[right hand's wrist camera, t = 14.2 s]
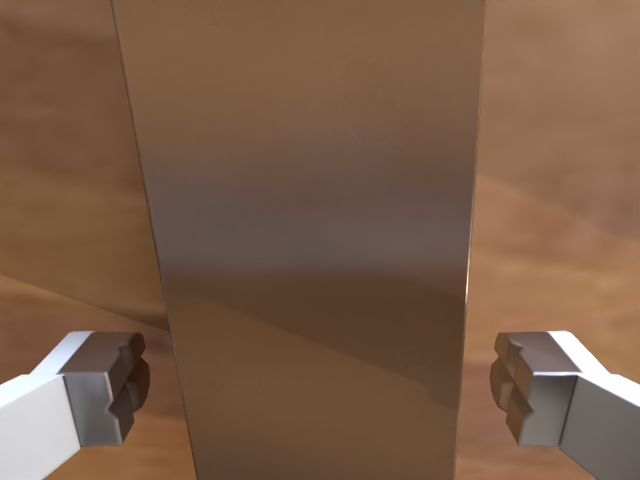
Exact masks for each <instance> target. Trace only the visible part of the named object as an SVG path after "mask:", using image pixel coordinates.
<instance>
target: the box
mask: <svg viewBox="0 0 640 480" xmlns="http://www.w3.org/2000/svg"><path fill="white" fill-rule="evenodd" d="M110 1H111V6H112V12H113V17H114V23H115V29H116V34H117V40H118V45H119V51H120V56H121V62H122V67H123V73H124V78H125V84H126V90H127V95H128V101H129V106H130V112H131V117H132V123H133V128H134V134H135V139H136V145H137V151H138V156H139V162H140V167H141V173H142V178H143V184H144V189H145V195H146V200H147V206H148V211H149V217H150V223H151V228H152V234H153V239H154V245H155V250H156V256H157V261H158V267H159V272H160V278H161V284H162V289H163V295H164V300H165V306H166V311H167V317H168V322H169V328H170V333H171V339H172V345H173V350H174V356H175V361H176V367H177V372H178V378H179V383H180V389H181V394H182V400H183V406H184V411H185V417H186V422H187V428H188V433H189V439H190V444H191V450H192V455H193V461H194V466H195V472H196V478H197V480H455V468H456V454H457V440H458V426H459V411H460V397H461V383H462V368H463V354H464V340H465V325H466V311H467V297H468V283H469V268H470V254H471V240H472V225H473V211H474V197H475V183H476V168H477V154H478V140H479V125H480V111H481V97H482V82H483V68H484V54H485V40H486V25H487V11H488V0H110Z"/></svg>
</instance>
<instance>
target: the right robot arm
mask: <svg viewBox="0 0 640 480" xmlns="http://www.w3.org/2000/svg"><path fill="white" fill-rule="evenodd" d="M145 349H146V347H145V343H144V338H143V335H142V334H141V333H140V332H111V331H96V332H95V331H74V332H70V333H69V334H68V335H67V336H66V337H65V338H64V339H63V340H62V341H61V342H60V343H59V344H58V345H57V346H56V347H55V348H54V349H53V350H52V351H51V352H50V353H49V354H48V356H47V357H46V358H45V359H44V360H43V361H42V362H41V363H40V364H39V365H38V366H37V367H36V368H35V369H34V370H33V371H32V372H31V373H30V374H29V375H20V376H18V377H16V378H14V379H12V380H10V381H7V382H5V383H3V384H1V385H0V480H43V479H44V478H45V477H47V476H48V475H49V474H50V473H51V472H53V471H54V470H55V469H56V468H58V467H59V466H60V465H61V464H63V463H64V462H65V461H66V460H68V459H69V458H70V457H71V456H72V455H74V454H75V453H76V452H77V451H79V450H80V449H81V448H80V447H91V446H122V444H123V442H124V440H125V438H126V436H127V435H128V433H129V431H130V429H131V427H132V425H133V423H134V418H133V413H134V412H135V411H137V410H138V409H140V408H141V407H142V406H143V404H144V402H145V400H146V398H147V394H148V390H149V385H150V372H149V365H148V364H147V363H146V362H145V361H144V360H143V359H142V358H141V355H142V354H143V352H144V350H145ZM494 349H495V350H496V352H497V354H498V355H499V358H498V359H497V360H496V361H495V362H494V363H493V364H492V365H491V373H490V384H491V391H492V394H493V398H494V400H495V402H496V404H497V406H498V407H499V408H500V409H502V410H503V411H505V412H506V413H507V418H506V423H507V425H508V427H509V429H510V431H511V433H512V434H513V436H514V438H515V440H516V442H517V444H518V446H549V447H560V448H559V449H560V450H562V451H563V452H564V453H565V454H566V455H568V456H569V457H570V458H571V459H573V460H574V461H575V462H576V463H578V464H579V465H580V466H581V467H583V468H584V469H585V470H586V471H587V472H589V473H590V474H591V475H592V476H594V477H595V478H596V479H597V480H640V385H639V384H637V383H635V382H632V381H630V380H628V379H626V378H624V377H622V376H620V375H611V374H610V373H609V372H608V371H607V370H606V369H605V368H604V367H603V366H602V365H601V364H600V363H599V362H598V361H597V360H596V359H595V358H594V357H593V355H592V354H591V353H590V352H589V351H588V350H587V349H586V348H585V347H584V346H583V345H582V344H581V343H580V342H579V341H578V340H577V339H576V338H575V337H574V336H573V334H572V333H570V332H567V331H545V332H512V333H499V334H498V336H497V338H496V342H495V347H494Z"/></svg>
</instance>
